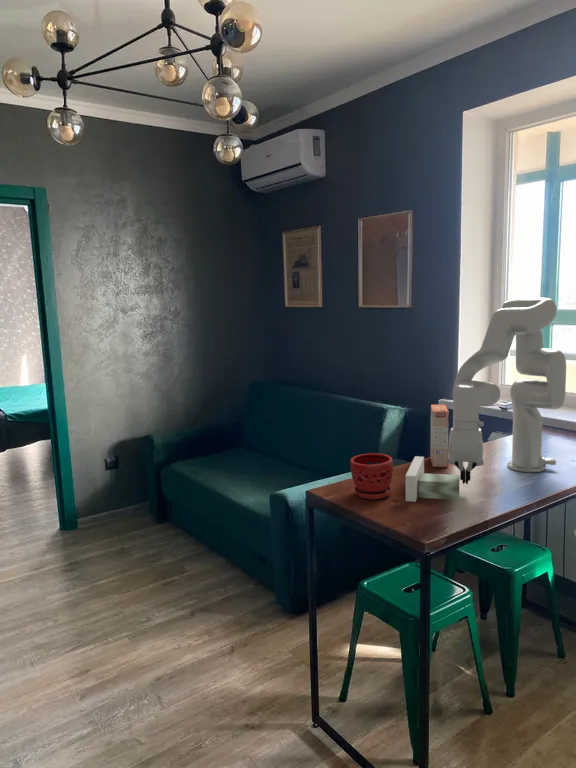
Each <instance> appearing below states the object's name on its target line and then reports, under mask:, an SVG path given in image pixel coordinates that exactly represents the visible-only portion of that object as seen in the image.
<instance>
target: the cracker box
mask: <svg viewBox="0 0 576 768" xmlns="http://www.w3.org/2000/svg"><path fill="white" fill-rule="evenodd" d="M449 412H450V411H449V409H448V408H447V405H446V404H431V405H430V455H429V457H430V463H431V467H432V468H448V467H449V465H448V464H449V463H448V458H449V455H448V449H449V423H450V422H449V420H450V419H449Z"/></svg>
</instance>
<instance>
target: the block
mask: <svg viewBox="0 0 576 768" xmlns="http://www.w3.org/2000/svg"><path fill="white" fill-rule="evenodd" d="M418 498H419V499H420V498H422V499H432V500H433V499H434V500H449V501H450V500H451V501H452V500H453V501H460V474H444V473H426V472H424V473H420V477H419V494H418Z"/></svg>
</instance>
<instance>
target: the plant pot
mask: <svg viewBox="0 0 576 768" xmlns="http://www.w3.org/2000/svg"><path fill="white" fill-rule="evenodd" d="M349 462H350V464H349V465H350V474H351V478H352V481H353V484H354V486H355V488H354V493H355V494H356V495H357V496H358V497H359V498H362V499H367V500H375V499H376V500H378V499H379V500H380V499H384V498H386V497H388V496H390V494H391V493H392V489H393V488H392V487H391V486H390V485H391V484H392V480H393V470H394V467H393V466H394V463H393V458H392V456H390V455H387V454H385V453H375V452H371V453H363V454H359V455H355V456H353V457H352V458H350V461H349ZM367 463H370V464H367Z"/></svg>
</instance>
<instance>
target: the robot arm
mask: <svg viewBox="0 0 576 768" xmlns="http://www.w3.org/2000/svg"><path fill="white" fill-rule="evenodd" d="M557 309H558V308H557V305H556V303H555V301H554V300H553V299H551V298H550V297H549V298H547V297H533V298H531V297H527V298H526V297H525V298H524V297H523V298H521V297H520V298H513V299H511V298H510V299H508V300H505V301H504V303H502V306H501V308H499V309H497V310H495V311H494V313H492V316H491V318H490V320H489V324H488V327H487V330H486V332H485V336H484V338H483V340H482V344H481V346H480V349H479V350H477V351H476V352H475V353H473V354H472V355H471V356H470V357H469V358H468V359H467V360H466V361H465V362H464V363H463V364H462V365H461V366H460V368H459V370H458V372H457V375H456V377H455V381H454V384H453V387H452V388H453V389H452V394H453V395H452V397H453V398H452V427H451V428H450V429H449V430H450V431H449V434H448V464H449V465H454V466H455V467H456V468H457V469H458V470H459V471H460V472H459V475H460V477H459V481H462V485H464V484H466V485H469V481H471V471H473V470H474V469H475V468H476V467H480V466H483V465H484V464H485V463H484V445H483V444H484V441H483V440H484V439H483V432H482V428H480V427H484V425H485V424H484V422H485V421H481V420H480V419H479V418H480V417H479V416H480V414H479V413H480V407H492V406H494V405H495V404H497V403H498V402H499V400H500V398H501V390H500V387H499V386H498V385H497V384H496V383H492V382H489V381H480V380H479V381H478V380H473V378H474V377H475V376H476V375H477V374H478V372H480V371H482V370H483V369H485V368H487V367H490V366H492V365H496V364H498V363H500V362H503V361H505V360H506V359H507V358H508V356H509V353H510V349H511V348H512V344H513V341H514V338H515V368H516V372H517V373H518V374H520V375H524V376H529V377H530V376H531V377H541V378H546V380H543V379H541V380H540V379H534V378H533V379H531V378H524V379H523V378H521V379H518V380H515V381H513V383H512V384H511V387H510V391H509V392H510V399H511V400H510V401H511V405H512V441H511V442H512V445H511V446H512V449H511V450H512V453H511V460H509V461H508V462H506V463H507V464H506V465H507V468H508V469H510V470H513V471H516V472H521V473H540V472H544V471H545V470H546V468H547V466H546V465H551V466H557V464H556V463H557V460H556V459H553V458H551V457H550V458H549V457H544V456H543V454H542V445H543V444H542V443H543V442H542V441H543V440H542V439H543V418H542V414H541V413H540V411H539V409H545V410H559V409H561V408H562V407H563V405H564V403H565V399H566V389H567V387H566V384H567V383H566V382H567V360H566V357H565V354H564V353H563V352H562V351H561V350H559V349H554V348H545V347H544V345H543V343H544V339H543V338H544V335H543V331H542V329H544V328H546V327H547V326H548V325H550V324H551V323H553V321H554V320H555V318H556V315H557ZM464 463H467V467H466V468H465V465H464Z"/></svg>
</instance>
